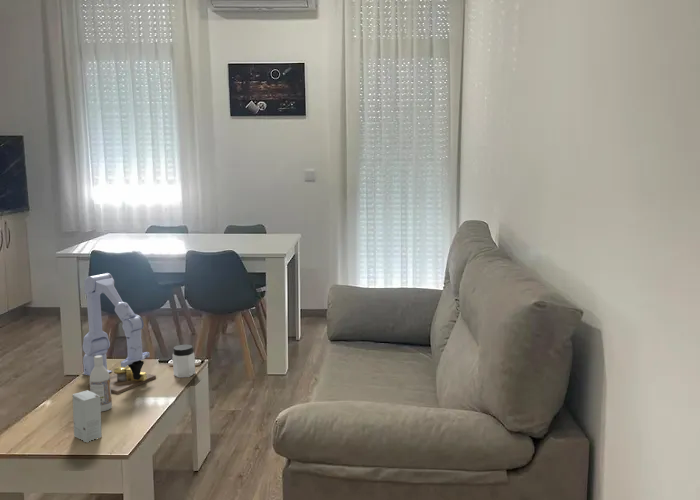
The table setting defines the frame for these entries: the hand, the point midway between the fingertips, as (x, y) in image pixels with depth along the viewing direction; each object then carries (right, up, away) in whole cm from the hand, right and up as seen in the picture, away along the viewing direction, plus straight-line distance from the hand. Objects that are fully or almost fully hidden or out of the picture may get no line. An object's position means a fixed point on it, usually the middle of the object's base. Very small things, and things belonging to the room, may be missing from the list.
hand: (136, 379), depth 266 cm
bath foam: (-5, -7, -24) cm, 25 cm away
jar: (+16, -1, +12) cm, 20 cm away
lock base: (-7, -2, +3) cm, 8 cm away
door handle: (-3, -1, +3) cm, 5 cm away
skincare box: (0, -10, -48) cm, 49 cm away
